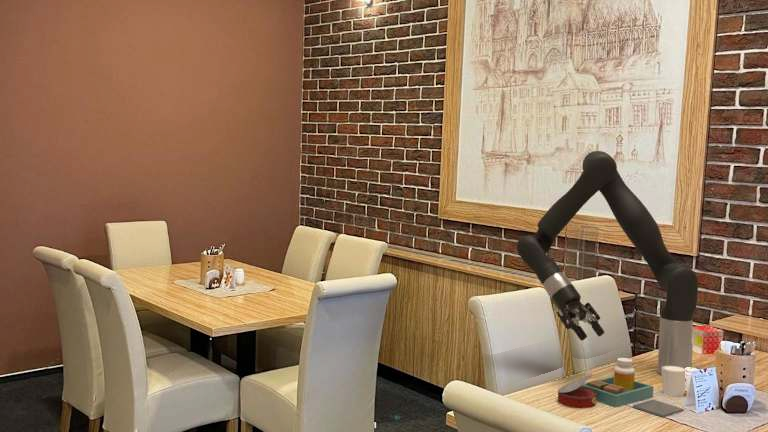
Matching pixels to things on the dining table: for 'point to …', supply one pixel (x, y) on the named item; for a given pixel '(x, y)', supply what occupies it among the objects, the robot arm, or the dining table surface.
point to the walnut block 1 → (597, 384)
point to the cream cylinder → (673, 380)
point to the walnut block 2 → (613, 389)
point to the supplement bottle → (624, 374)
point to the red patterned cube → (706, 339)
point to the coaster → (657, 408)
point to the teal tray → (637, 394)
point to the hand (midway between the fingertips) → (593, 336)
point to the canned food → (577, 394)
